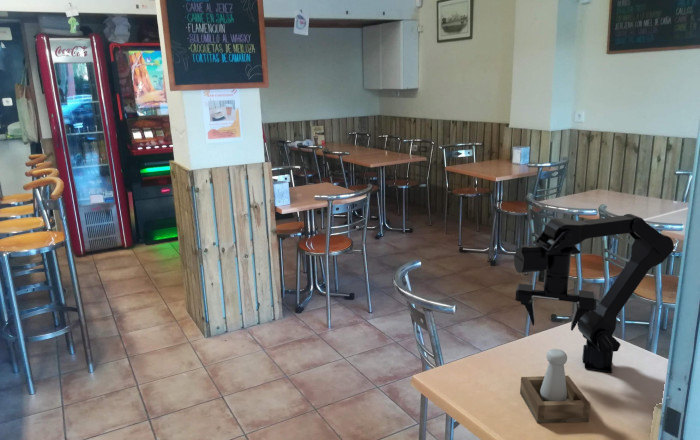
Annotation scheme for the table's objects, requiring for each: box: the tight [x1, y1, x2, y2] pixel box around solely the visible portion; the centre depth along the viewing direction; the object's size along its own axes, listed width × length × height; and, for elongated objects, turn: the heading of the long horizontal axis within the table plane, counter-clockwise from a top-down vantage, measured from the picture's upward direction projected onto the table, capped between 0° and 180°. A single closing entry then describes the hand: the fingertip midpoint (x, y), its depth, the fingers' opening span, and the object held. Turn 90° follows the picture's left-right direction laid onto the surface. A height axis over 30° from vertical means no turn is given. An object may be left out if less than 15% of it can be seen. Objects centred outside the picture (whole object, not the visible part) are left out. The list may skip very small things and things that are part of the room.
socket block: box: [519, 375, 591, 424], centre depth 120 cm, size 11×11×4 cm
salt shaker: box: [540, 348, 568, 401], centre depth 119 cm, size 6×6×13 cm
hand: (552, 327), depth 133 cm, fingers open, 9 cm apart
